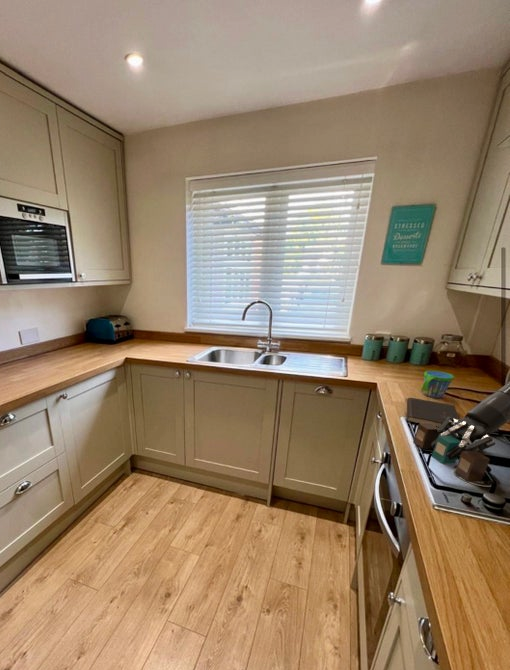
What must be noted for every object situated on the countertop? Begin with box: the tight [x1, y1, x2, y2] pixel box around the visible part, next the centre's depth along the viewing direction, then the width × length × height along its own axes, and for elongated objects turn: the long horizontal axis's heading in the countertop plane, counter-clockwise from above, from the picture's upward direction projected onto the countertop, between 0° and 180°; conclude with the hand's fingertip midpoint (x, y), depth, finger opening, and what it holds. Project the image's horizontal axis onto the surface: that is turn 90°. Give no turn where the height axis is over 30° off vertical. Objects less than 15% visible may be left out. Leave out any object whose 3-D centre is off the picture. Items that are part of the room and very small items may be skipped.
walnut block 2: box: [454, 451, 491, 483], centre depth 85 cm, size 4×4×8 cm
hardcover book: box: [406, 397, 460, 427], centre depth 125 cm, size 16×23×2 cm
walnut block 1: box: [412, 423, 440, 450], centre depth 100 cm, size 4×4×8 cm
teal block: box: [431, 435, 462, 465], centre depth 92 cm, size 4×4×8 cm
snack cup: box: [421, 370, 455, 399], centre depth 145 cm, size 16×10×10 cm
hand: (440, 452), depth 92 cm, fingers open, 4 cm apart
